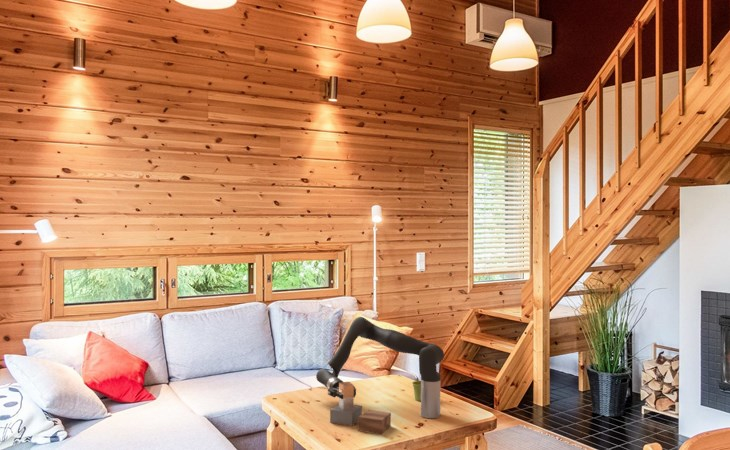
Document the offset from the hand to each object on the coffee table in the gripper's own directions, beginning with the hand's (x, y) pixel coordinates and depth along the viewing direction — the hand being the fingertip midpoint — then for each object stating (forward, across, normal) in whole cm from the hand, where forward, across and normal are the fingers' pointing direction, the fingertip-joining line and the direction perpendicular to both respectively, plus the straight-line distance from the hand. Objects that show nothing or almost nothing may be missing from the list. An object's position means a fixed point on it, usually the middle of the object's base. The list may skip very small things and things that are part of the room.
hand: (348, 396), depth 273 cm
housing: (-3, 0, +6) cm, 7 cm away
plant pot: (-19, +47, +12) cm, 52 cm away
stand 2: (+12, +8, +12) cm, 19 cm away
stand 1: (-3, 0, +12) cm, 12 cm away
